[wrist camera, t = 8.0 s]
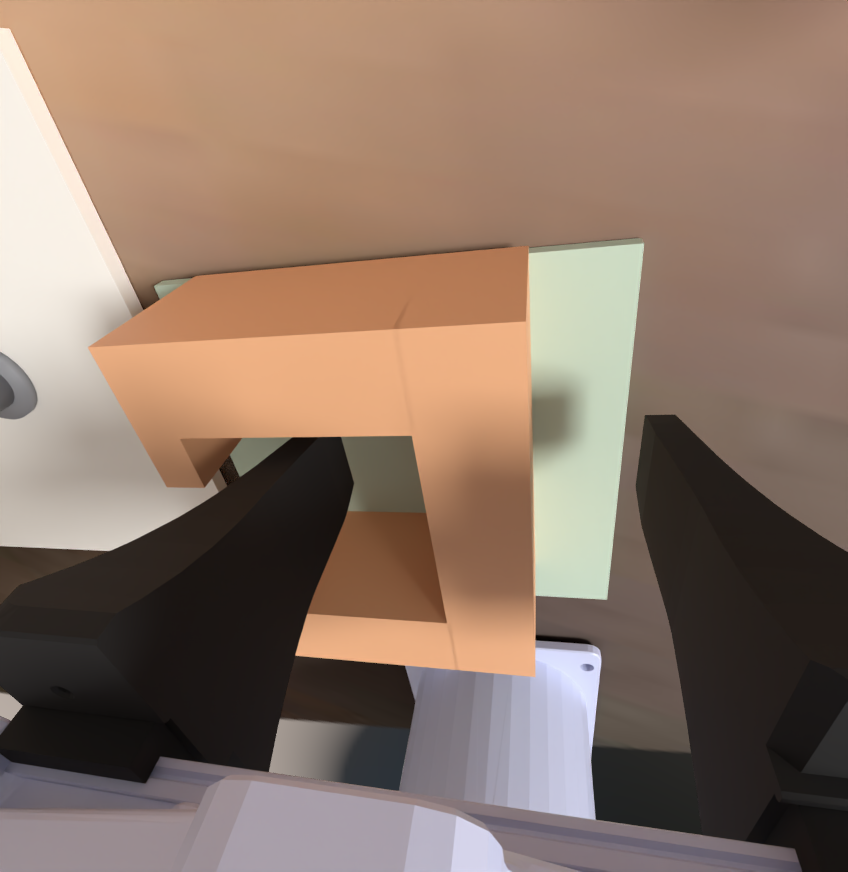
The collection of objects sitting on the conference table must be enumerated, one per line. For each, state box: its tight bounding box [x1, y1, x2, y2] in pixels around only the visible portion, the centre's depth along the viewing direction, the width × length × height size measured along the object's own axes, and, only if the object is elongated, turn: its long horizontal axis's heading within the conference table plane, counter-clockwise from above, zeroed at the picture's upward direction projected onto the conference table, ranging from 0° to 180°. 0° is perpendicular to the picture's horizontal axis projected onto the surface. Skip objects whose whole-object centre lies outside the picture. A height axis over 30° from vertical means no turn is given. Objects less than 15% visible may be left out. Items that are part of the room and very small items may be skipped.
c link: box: [88, 246, 535, 677], centre depth 14 cm, size 8×10×4 cm
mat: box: [154, 238, 644, 600], centre depth 16 cm, size 12×12×1 cm
